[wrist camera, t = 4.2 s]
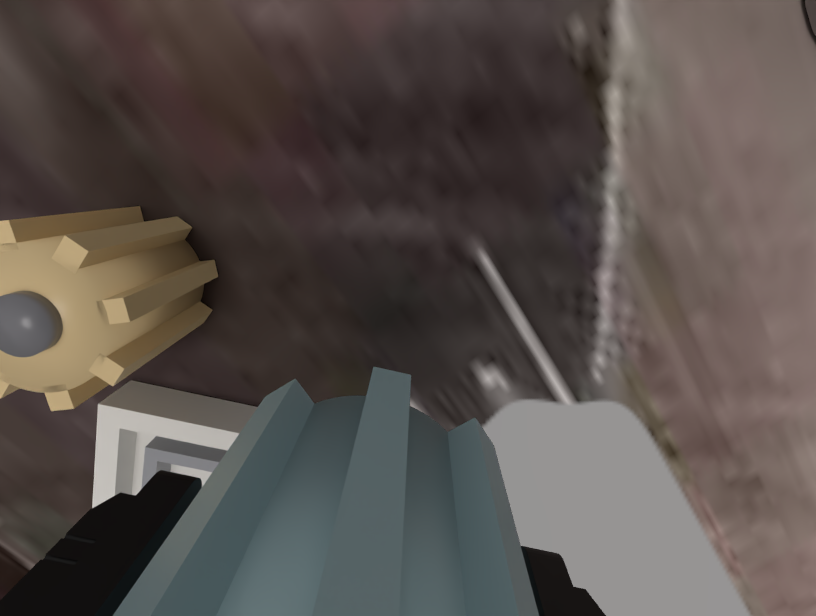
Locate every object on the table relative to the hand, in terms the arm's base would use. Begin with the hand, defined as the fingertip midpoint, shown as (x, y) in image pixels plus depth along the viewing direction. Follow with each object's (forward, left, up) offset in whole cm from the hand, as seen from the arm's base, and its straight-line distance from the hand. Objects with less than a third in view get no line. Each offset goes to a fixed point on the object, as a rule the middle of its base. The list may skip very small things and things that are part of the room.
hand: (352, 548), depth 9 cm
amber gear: (+11, 0, -14) cm, 18 cm away
